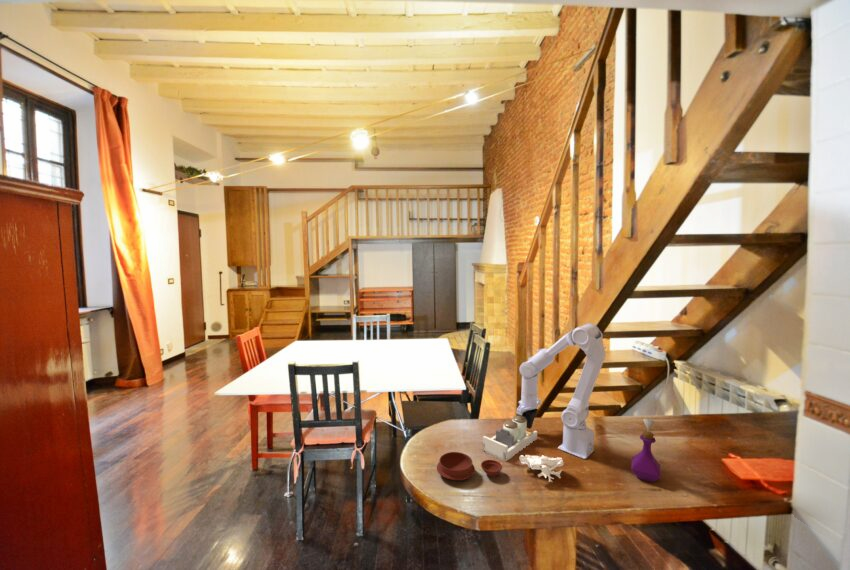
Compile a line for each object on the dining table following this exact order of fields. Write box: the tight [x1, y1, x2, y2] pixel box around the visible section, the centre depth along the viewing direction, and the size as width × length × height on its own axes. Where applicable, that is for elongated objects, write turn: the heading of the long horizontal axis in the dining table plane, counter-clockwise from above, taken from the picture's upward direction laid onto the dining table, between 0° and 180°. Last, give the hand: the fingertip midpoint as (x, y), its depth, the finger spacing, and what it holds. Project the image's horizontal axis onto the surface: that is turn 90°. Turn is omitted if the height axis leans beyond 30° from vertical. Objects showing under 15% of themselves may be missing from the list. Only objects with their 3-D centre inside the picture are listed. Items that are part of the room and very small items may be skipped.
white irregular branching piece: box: [518, 454, 564, 483], centre depth 112 cm, size 12×7×12 cm
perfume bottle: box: [631, 418, 662, 483], centre depth 111 cm, size 8×8×18 cm
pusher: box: [495, 427, 514, 449], centre depth 127 cm, size 7×1×6 cm, turn 45°
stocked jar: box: [502, 420, 518, 445], centre depth 129 cm, size 5×5×7 cm
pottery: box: [436, 451, 503, 481], centre depth 112 cm, size 12×20×4 cm, turn 89°
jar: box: [511, 415, 527, 440], centre depth 133 cm, size 5×5×7 cm
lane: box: [482, 430, 538, 462], centre depth 130 cm, size 9×21×5 cm, turn 135°
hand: (528, 427), depth 138 cm, fingers closed
